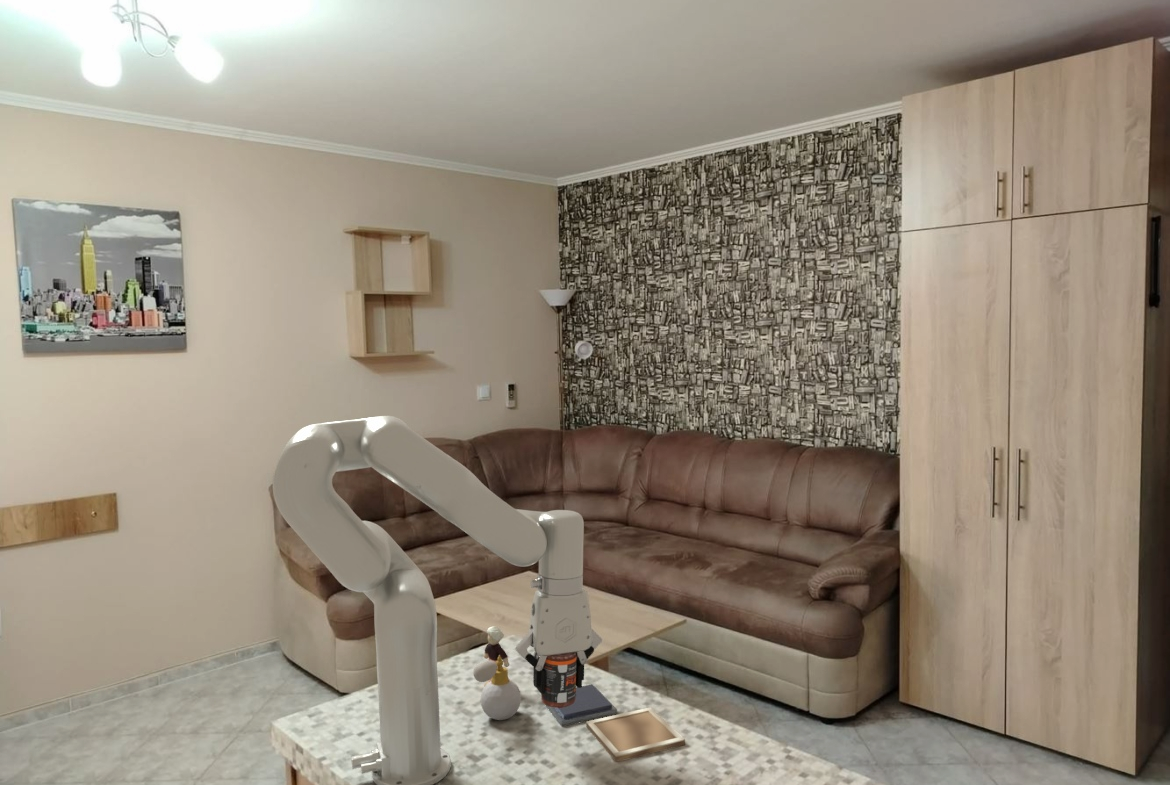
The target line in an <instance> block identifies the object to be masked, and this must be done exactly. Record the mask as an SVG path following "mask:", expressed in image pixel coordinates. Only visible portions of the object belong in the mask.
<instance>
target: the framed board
mask: <svg viewBox="0 0 1170 785" xmlns="http://www.w3.org/2000/svg"><path fill="white" fill-rule="evenodd" d="M585 724H586V725H585V726H586V728H587V729H588V731H589V730H590V731H589V733H591V734H592V736H593V737H594V738H595V737H596V738H595V739H596V740H597V741H598V742H599V744H600V745H601V747H603V749H605V751H606V752H607V753H608V754H609V755H610V757H611V758H612V759H613V760H614V762H616V763H617V762H620V761H621V762H622V761H625V760H629V759H632V758H633V759H634V758H637V757H641V756H645V755H650V754H654V753H658V752H662V751H666V750H670V749H673V748H678V747H682V746H686V739H685V737H683V736H682V735H681V734H680V733H679V732H678V731H677V730H676V729H675V728H674V727H673V726H671V725H670V724H669V723H668V722H667V721H666V720H665V719H664V718H663V717H662V716H660V715H659V713H658V712H656V711H655V710H654V709H653V708H652V707H651V706H650V707H645V708H641V709H636V710H632V711H628V712H624V713H623V712H622V713H619V714H618V713H617V714H616V715H612V716H607V717H603V718H598V719H594V720H589V721H585Z"/></svg>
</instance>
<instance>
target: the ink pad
mask: <svg viewBox="0 0 1170 785" xmlns="http://www.w3.org/2000/svg"><path fill="white" fill-rule="evenodd" d="M545 707H546V708H547V710H548V709H549V710H548V711H549V712H550V713H552V717H554V719H555V718H556V719H555V720H556V721H557V722H558V724H559V725H560V726H561V727H566V726H565V725H567V726H570V725H574V724H575V723H576V724H579V722H580V723H585V722H586V721H587V720H589V721H591V720H593V719H594V720H595V719H597V718H598V719H600V718H602V717H603V718H604V717H606V716H607V717H609V716H610V715H612V716H613V715H614V714H616V715H618V709H617V708H616V707H615V706H614V704H612V703H611V701H610V700H609V699H608V698H607V696H605V695H604V694H603V693H602V692H601V691H600V690H599V689H598V688H597V687H596V686H595V685H594V684H591V683H590V684H586V685H582V687H581V688H578V687H577V686H576V696H575V702H574V703H573V704H572V705H570V706H568V707H563V708H555V707H550V706H547V705H546V706H545ZM584 721H585V722H584Z"/></svg>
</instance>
